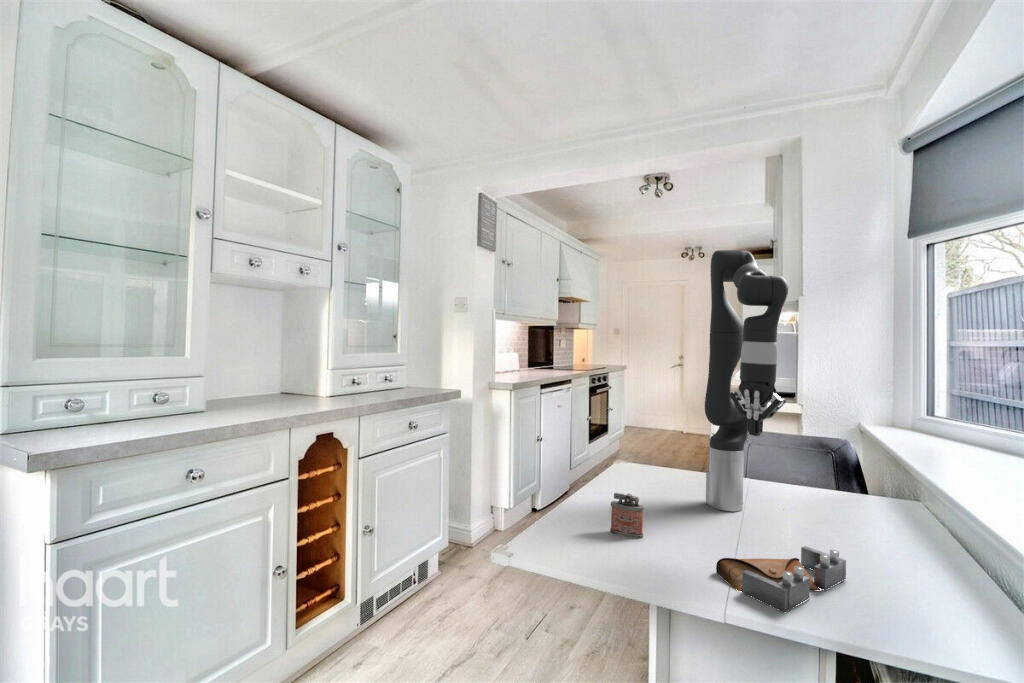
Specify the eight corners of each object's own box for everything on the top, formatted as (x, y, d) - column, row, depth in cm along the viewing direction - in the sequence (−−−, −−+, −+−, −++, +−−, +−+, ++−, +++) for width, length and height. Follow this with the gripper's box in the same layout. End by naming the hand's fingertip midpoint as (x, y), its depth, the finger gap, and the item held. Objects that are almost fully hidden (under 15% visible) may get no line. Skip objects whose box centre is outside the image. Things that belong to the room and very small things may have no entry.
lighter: (644, 535, 119) (645, 494, 119) (641, 540, 116) (642, 498, 116) (612, 529, 123) (612, 490, 123) (608, 533, 120) (609, 493, 120)
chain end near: (742, 592, 92) (742, 561, 92) (767, 581, 97) (767, 551, 97) (784, 612, 85) (785, 579, 86) (809, 599, 90) (809, 567, 90)
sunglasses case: (737, 593, 92) (728, 555, 95) (720, 595, 98) (713, 559, 101) (826, 591, 93) (814, 554, 97) (804, 593, 99) (794, 558, 103)
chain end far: (783, 574, 100) (783, 545, 100) (804, 564, 105) (804, 536, 105) (825, 591, 93) (825, 560, 93) (845, 579, 98) (846, 550, 98)
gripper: (796, 363, 108) (792, 440, 109) (742, 359, 120) (738, 428, 120) (777, 363, 105) (772, 443, 105) (723, 359, 116) (719, 430, 116)
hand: (754, 435), depth 113 cm, fingers closed
